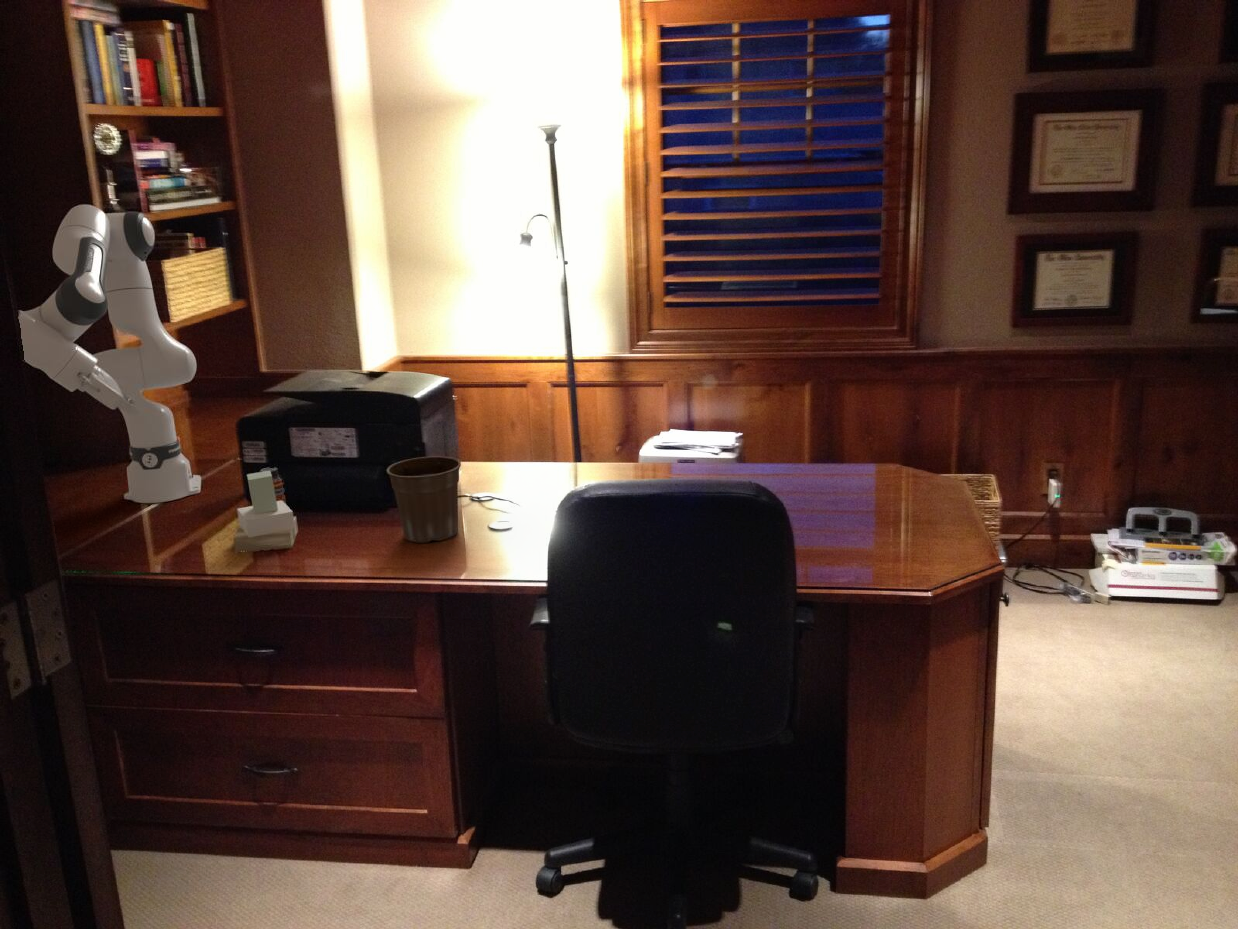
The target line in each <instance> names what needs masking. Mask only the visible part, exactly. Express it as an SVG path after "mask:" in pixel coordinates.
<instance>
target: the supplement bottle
mask: <svg viewBox="0 0 1238 929" xmlns="http://www.w3.org/2000/svg"><path fill="white" fill-rule="evenodd" d="M264 471H270V472H271V475H272V479H273V485H274V491H275V496H276V501H281V500H282V501H283V502H284V503H285V504H286V505H287V503H286V502H287V501H286V495H284V492H285V487H284V488H283V484H284V482H283V483H282V479H283V478H282V479H281V478H280V477H281V476H280V474H279V471H278V468H277V467H274V468H270V467H265V468H261V469H260V471H259V472H264ZM279 476H280V477H279Z"/></svg>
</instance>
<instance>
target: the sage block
mask: <svg viewBox="0 0 1238 929" xmlns="http://www.w3.org/2000/svg"><path fill="white" fill-rule="evenodd" d="M246 477H247V482H248V488H249V494H250V498H251V504H252V505H251V506H253V510H254V514H260V513H266V512H271V511H276V510H278V507H277V502H276V496H275V491H274V485H273V479H272V475H271V472H270V471H264V472H260V471H259V472H253V473H248V474H247V473H246Z"/></svg>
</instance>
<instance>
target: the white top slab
mask: <svg viewBox="0 0 1238 929" xmlns="http://www.w3.org/2000/svg"><path fill="white" fill-rule="evenodd" d="M276 502H277V507H278V510H276V511H271V512H266V513H260V514H254V510H253V505H249V506H246V507H239V508H236V511H237V516H238V523H239V525H238V526H240V527H241V528H242V529H243V531H244V532H245V533H246V534H247V536H248V537H249V538H250V537H255V536H260V535H265V534H270V533H275V532H280V531H285V530H290V529H295V525H294V518H293V517H294V512H293V510H292V509H290V507H289V506H288V505H287V503H286V504H285V503H284V502H283V501H282V500H281V501H276Z"/></svg>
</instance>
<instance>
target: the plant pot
mask: <svg viewBox="0 0 1238 929" xmlns="http://www.w3.org/2000/svg"><path fill="white" fill-rule="evenodd" d="M461 466H462V463H461V461H460V460H459V459H457V458H454V457H450V456H449V457H448V456H438V455H437V456H422V457H414V458H410V459H404V460H400V461H398V462H395V463H393V464H391V465H389V466H388V467H387V469H386V473H387V475H389V479H390V484H391V488H392V489H393V492H394V495H395V499H396V505H397V510H398V514H399V519H400V524H401V529H402V534H403V538H404V539H405V540H407V541H409V542H412V543H418V544H419V543H420V544H423V543H425V544H426V543H427V544H428V543H430V542H431V541H436V542H440V541H441V542H442V541H445V540H449V539H451V538H452V537H454V536H455V535H457V534H458V531H459V499H458V498H459V497H458V496H459V495H458V494H459V493H458V492H459V482H460V468H461Z"/></svg>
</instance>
